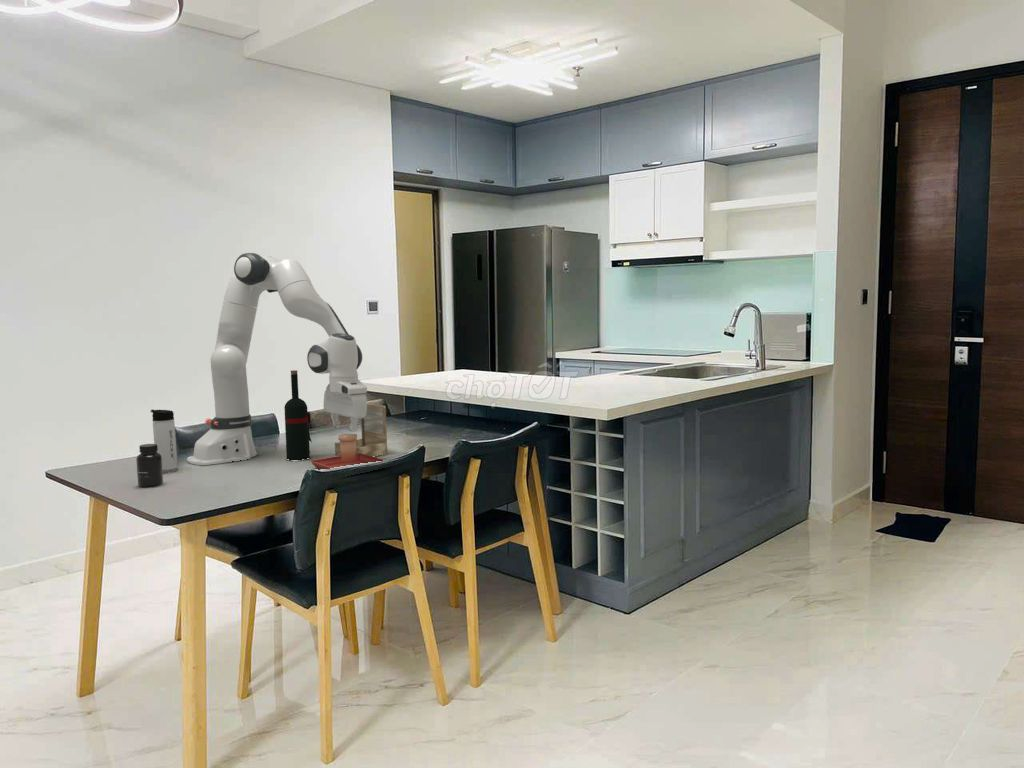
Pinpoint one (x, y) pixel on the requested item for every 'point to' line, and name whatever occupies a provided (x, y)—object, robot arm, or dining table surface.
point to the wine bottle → (297, 424)
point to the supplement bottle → (149, 466)
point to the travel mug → (165, 438)
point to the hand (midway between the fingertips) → (344, 429)
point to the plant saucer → (337, 462)
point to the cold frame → (371, 432)
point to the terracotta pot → (348, 447)
